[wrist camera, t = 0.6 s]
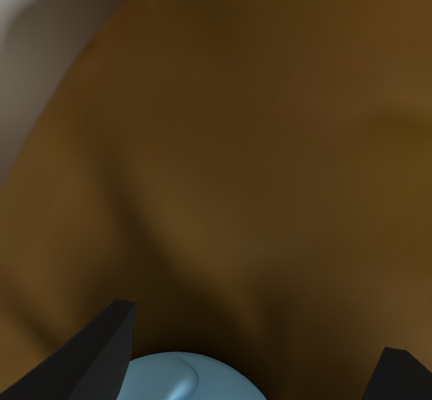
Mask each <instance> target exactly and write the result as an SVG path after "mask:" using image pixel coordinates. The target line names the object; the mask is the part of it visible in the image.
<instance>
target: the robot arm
mask: <svg viewBox="0 0 432 400" xmlns="http://www.w3.org/2000/svg"><path fill="white" fill-rule="evenodd" d="M135 308H136V303H134V302H128V301H123V300H117V299H115V300H113V301H111V302H110V303H109V304H108V305H107V306H106V307H105V308H104V309H103V310H102V311H101V312H100V313H99V314H97V315H96V316H95V317H94V318H93V319H92V320H91V321H90V322H89V323H88V324H86V325H85V326H84V327H83V328H82V329H81V330H80V331H79V332H78V333H76V334H75V335H74V336H73V337H72V338H70V339H69V340H68V341H67V342H66V343H65V344H63V345H62V346H61V347H60V348H59V349H57V350H56V351H55V352H54V353H53V354H51V355H50V356H49V357H48V358H46V359H45V360H44V361H43V362H41V363H40V364H39V365H37V366H36V367H35V368H34V369H32V370H31V371H30V372H28V373H27V374H26V375H25V376H23V377H22V378H21V379H19V380H18V381H17V382H15V383H14V384H13V385H11V386H10V387H8V388H7V389H6V390H4V391H3V392H2V393H0V400H117V397H118V395H119V393H120V390H121V387H122V384H123V381H124V378H125V375H126V372H127V369H128V366H129V362H130V359H131V355H132V343H133V331H134V320H135ZM362 400H432V373H431V372H430V371H428V370H427V369H426V368H425V367H424V366H423V365H422V364H421V363H420V362H419V361H418V360H417V359H415V358H414V357H413V356H412V355H411V354H410V353H409V352H407V351H405V350H400V349H394V348H389V347H385V348H384V350H383V353H382V355H381V357H380V359H379V361H378V364H377V366H376V368H375V370H374V372H373V375H372V377H371V379H370V381H369V384H368V386H367V388H366V390H365V392H364V395H363V397H362Z"/></svg>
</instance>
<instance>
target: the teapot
mask: <svg viewBox="0 0 432 400" xmlns="http://www.w3.org/2000/svg"><path fill="white" fill-rule="evenodd" d="M117 400H266V398H265V397H264V395H263V394H262V393H261V392H260V391H259V390H258V388H257V387H256V386H255V385H253V384H252V383H251V382H250V381H249V380H248V379H247V378H246V377H244V376H243V375H242V374H240V373H239V372H237V371H236V370H235V369H233V368H232V367H230V366H228V365H226V364H224V363H223V362H220V361H218V360H216V359H213V358H211V357H208V356H204V355H201V354H195V353H189V352H164V353H157V354H151V355H147V356H144V357H140V358H137V359H134V360H132V361H130V362H129V366H128V369H127V372H126V375H125V378H124V381H123V384H122V387H121V390H120V393H119V395H118V397H117Z"/></svg>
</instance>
